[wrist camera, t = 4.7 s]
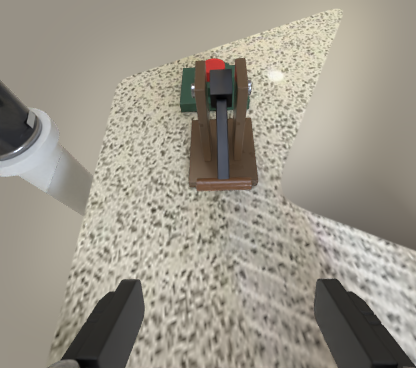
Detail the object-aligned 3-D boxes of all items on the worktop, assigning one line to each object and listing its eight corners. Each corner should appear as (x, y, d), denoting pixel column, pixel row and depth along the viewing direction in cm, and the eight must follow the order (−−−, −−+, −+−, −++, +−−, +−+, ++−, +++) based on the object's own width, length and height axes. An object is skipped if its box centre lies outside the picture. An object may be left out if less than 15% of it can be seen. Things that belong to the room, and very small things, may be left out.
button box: (181, 112, 37) (177, 94, 34) (184, 76, 42) (181, 58, 38) (248, 109, 37) (250, 91, 33) (244, 73, 41) (246, 54, 38)
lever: (249, 192, 22) (253, 186, 19) (198, 193, 22) (195, 188, 20) (243, 83, 24) (245, 67, 22) (197, 86, 25) (195, 70, 22)
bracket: (257, 185, 30) (276, 113, 19) (189, 187, 30) (169, 118, 19) (250, 123, 35) (262, 37, 24) (192, 125, 36) (178, 42, 24)
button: (202, 83, 36) (201, 73, 34) (202, 69, 37) (201, 59, 36) (225, 82, 35) (225, 72, 34) (224, 67, 37) (224, 57, 36)
